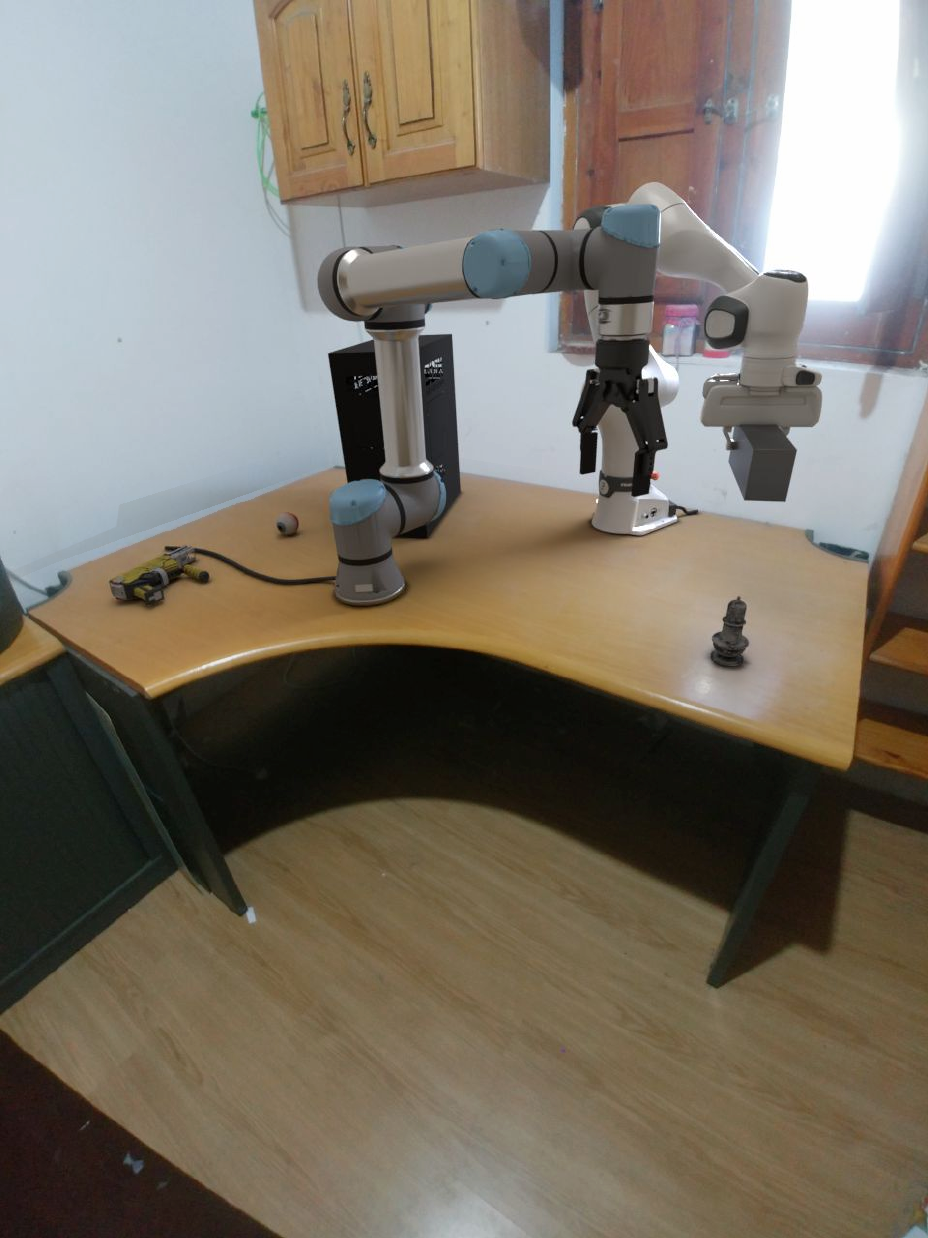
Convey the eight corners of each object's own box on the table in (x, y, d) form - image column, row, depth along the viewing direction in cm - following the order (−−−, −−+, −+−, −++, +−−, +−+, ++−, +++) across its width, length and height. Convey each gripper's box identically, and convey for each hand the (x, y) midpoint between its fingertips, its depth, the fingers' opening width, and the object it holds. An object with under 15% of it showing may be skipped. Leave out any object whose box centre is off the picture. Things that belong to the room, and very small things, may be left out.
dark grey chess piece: (748, 668, 101) (762, 605, 95) (711, 665, 102) (722, 603, 96) (741, 649, 106) (754, 588, 100) (706, 647, 107) (717, 586, 101)
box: (728, 461, 122) (735, 417, 117) (762, 462, 120) (771, 417, 116) (744, 500, 102) (753, 449, 98) (785, 501, 100) (797, 449, 96)
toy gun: (232, 553, 147) (182, 542, 151) (158, 593, 127) (102, 580, 131) (234, 570, 150) (185, 559, 154) (162, 613, 130) (107, 599, 134)
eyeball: (273, 537, 164) (268, 516, 161) (287, 528, 169) (282, 508, 166) (291, 539, 161) (286, 518, 158) (305, 530, 166) (301, 510, 163)
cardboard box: (427, 537, 157) (411, 350, 135) (355, 534, 162) (327, 353, 139) (460, 491, 189) (452, 333, 166) (399, 490, 194) (383, 336, 171)
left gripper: (553, 333, 94) (550, 468, 105) (661, 345, 74) (644, 510, 85) (593, 329, 97) (586, 461, 107) (708, 340, 77) (686, 500, 87)
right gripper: (706, 376, 109) (695, 453, 116) (832, 375, 104) (813, 455, 111) (703, 371, 114) (693, 445, 121) (823, 369, 109) (806, 446, 116)
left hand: (612, 483), depth 96 cm, fingers open, 13 cm apart
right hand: (751, 450), depth 116 cm, fingers closed on box, 6 cm apart
